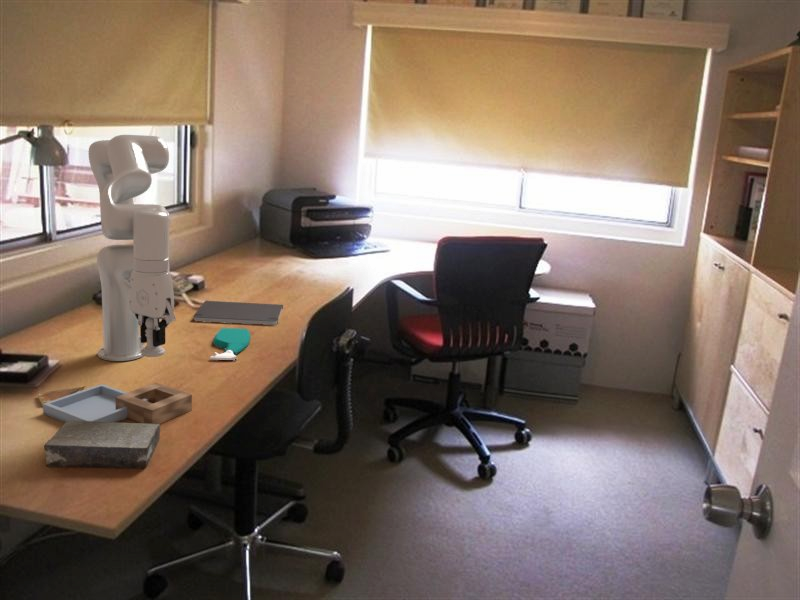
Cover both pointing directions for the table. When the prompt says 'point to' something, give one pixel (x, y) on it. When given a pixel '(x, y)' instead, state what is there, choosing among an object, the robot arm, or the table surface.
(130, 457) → the stone block
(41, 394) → the shard
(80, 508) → the table surface
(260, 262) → the table surface
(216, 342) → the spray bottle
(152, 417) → the square wooden frame
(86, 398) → the tray
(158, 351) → the chess piece
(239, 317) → the notebook
